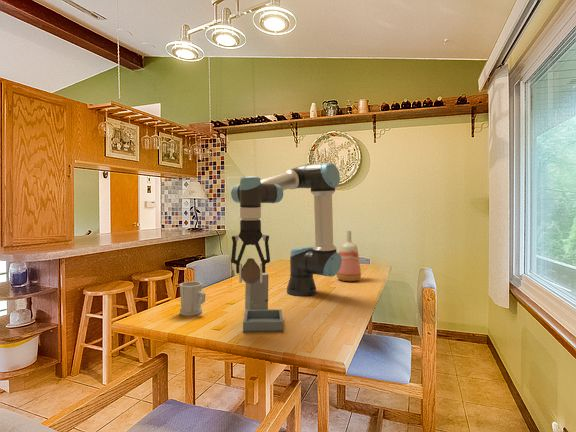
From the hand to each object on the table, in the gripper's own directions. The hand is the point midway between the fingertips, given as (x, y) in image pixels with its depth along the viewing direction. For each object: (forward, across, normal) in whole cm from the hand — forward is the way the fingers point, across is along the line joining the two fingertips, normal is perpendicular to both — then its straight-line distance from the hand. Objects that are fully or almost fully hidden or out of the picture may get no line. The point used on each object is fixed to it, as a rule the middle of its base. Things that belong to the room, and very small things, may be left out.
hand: (251, 281), depth 122 cm
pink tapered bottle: (+18, -53, -74) cm, 93 cm away
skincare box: (+17, -1, -17) cm, 24 cm away
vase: (0, 0, 0) cm, 0 cm away
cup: (+16, +25, -15) cm, 33 cm away
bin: (+16, -4, 0) cm, 17 cm away
